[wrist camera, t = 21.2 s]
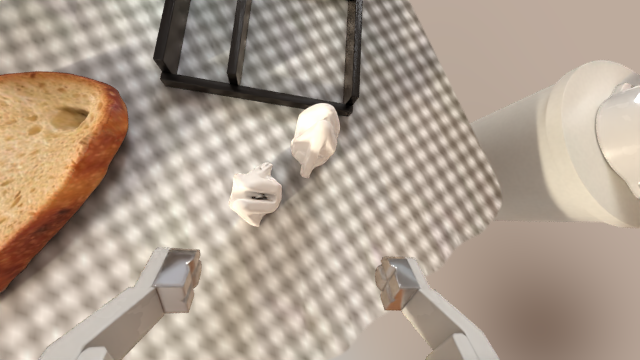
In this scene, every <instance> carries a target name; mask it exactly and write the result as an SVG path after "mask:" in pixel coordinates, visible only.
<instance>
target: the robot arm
mask: <svg viewBox="0 0 640 360" xmlns="http://www.w3.org/2000/svg"><path fill="white" fill-rule="evenodd" d="M596 133H597V138H598V142H599V145H600V148H601V151H602V153H603V155H604V157H605V159H606V160H607V162H608V164H609V165H610V166H611V168H612V169H613V170H614V171H615V172H616V173H617V174H618V175H619V176H620V177H621V178H622V179H623V180H624V181H625V183H626V184H627V186H628V188H629V189H630V191H631V193H632V194H633V196H634V197H635V198H637V199H640V85H639V86H636V87H635V86H633V85H631V84H629V83H623V84H619V85H616V86H615V88H614V90H613V92H612V95H611V96H610V97H609V98H608V99H607V100H605V101H604V102H603V103H602V104H601V106H600V107H599V110H598V112H597V117H596ZM199 258H200V250H197V249H180V248H161V247H157V248H156V249H155V250H154V251H153V253H152V255H151V256H150V258H149V260H148V262H147V264H146V265H145V267H144V269H143V271H142V273H141V274H140V276H139V278H138V280H137V282H136V283H135V285H134V287H128V288H127V289H126V290H124V291H123V292H121V293H120V294H119V295H117V296H116V297H115V298H113V299H112V300H111V301H109V302H108V303H106V304H105V305H104V306H102V307H101V308H100V309H98V310H97V311H96V312H94V313H93V314H91V315H90V316H89V317H87V318H86V319H85V320H83V321H82V322H81V323H79V324H78V325H76V326H75V327H74V328H72V329H71V330H70V331H68V332H67V333H66V334H64V335H63V336H61V337H60V338H59V339H57V340H56V341H55V342H53V343H52V344H51V345H49V346H48V347H47V348H46V349H45V351H44V352H43V353H42V355H41V356H40V358H39V359H38V360H122V359H123V358H124V356H125V355H126V354H127V353H128V352H129V351H130V350H131V349H132V348H133V347H134V346H135V345H136V344H137V343H138V342H139V341H140V340H141V339H142V338H143V337H144V336H145V335H146V334H147V332H148V331H149V330H150V329H151V328H152V327H153V326H154V325H155V324H156V323H157V322H158V321H159V320H160V319H161V318H162V317H163V316H164V314H165V313H189V310H190V307H191V304H192V301H193V298H194V290H193V289H194V288H195V287H196V286H197V285H198V283H199V279H200V275H201V268H202V264H201V261H200V260H199ZM381 263H382V264H381V265H380V266H378V267H377V269H376V271H375V282H376V285H377V287H378V288H379V289H380V290H381V294H380V298H381V301H382V304H383V307H384V310H402V313H403V314H404V315H405V317H406V318H407V319H408V320H409V322H410V323H411V324H412V325H413V326H414V328H415V329H416V330H417V331H418V332H419V334H420V335H421V336H422V337H423V339H424V340H425V341H426V342H427V343H428V345H429V346H430V347H431V348H432V350H433V351H432V352H431V353H430V354H429V355H428V356H427V357H426V359H425V360H500V359H499V358H498V356H497V354H496V353H495V351H494V349H493V348H492V346H491V345H490V343H489V341H488V339H487V338H486V336H485V334H484V333H483V331H481V330H480V329H479V328H478V327H477V326H476V325H474V324H473V323H472V322H471V321H470V320H469V319H468V318H467V317H465V316H464V315H463V314H462V313H461V312H460V311H458V310H457V309H456V308H455V307H454V306H453V305H451V303H449V302H448V301H447V300H446V299H445V298H444V297H443V296H441V295H440V294H439V293H438V292H437V291H436V290H434V289H431V287H430V285H429V283H428V281H427V280H426V277H425V276H424V274H423V272H422V270H421V268H420V266H419V264H418V262H417V260H416V259H415V258H412V257H383V258H382V260H381Z"/></svg>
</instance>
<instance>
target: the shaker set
mask: <svg viewBox="0 0 640 360" xmlns="http://www.w3.org/2000/svg"><path fill="white" fill-rule="evenodd" d="M339 131H340V123H339V118H338V115H337V112H336V110H335V108H334V107H333V106H332V105H330V104H326V103H319V104H315V105H313V106H311V107H309V108H307V109H305V110H304V111H303V112H302V113H300V115H299V117H298V122H297V127H296V132H295V137H294V138H293V140H292V142H291V152H292V155H293V156H294V157H295V158H296V159H297V160H298V161H299V163H300V164H301V170H300V174H301V176H302V177H305V178H309V177H310V174H311V172H312V170H313V169H314V168H315V167H317V166H320V165H322V164H324V163H325V162H326V161H327V160H328V159H329V158H330V157H331V156H332V155H333V153H334V152H335V150H336V146H337V137H338V135H339ZM265 163H266V164H265ZM265 163H263V164H261V165H260V166H258V167H256V168H255V169H253V170H252V171H250V172H249V173H247V174H240V173H238V174H235V176H234V179H233V188H232V193H231V196H230V200H229V207H230V208H231V209H233V210H234V211H235V212H237V213H238V215H239V216H240V217H241V218H243V219H244V220H245V221H246V222H247V223H249V224H250V225H252V226H258V227H259V225H260V221H261V219H262V218H263V216H264V215H265V214H267V213H272V212H274V211H275V210H276V209H277V208H278V206H279V204H280V202H281V199H282V196H281V195H282V186H281V185H280V184H279V183H278V182H277V181H276V180H275V179H274V178H272V177H271V170H272V167H273V166H272V164H271V163H268V162H265ZM267 164H269V165H267ZM265 165H267V166H265ZM257 192H258V193H257ZM259 193H265V195H261V194H259ZM251 196H254V197H256V198H259V197H260V198H262V197H263V196H265V197H268V198H265V199H270V200H271V201H270V200H256V198H254V199H252V198H251Z"/></svg>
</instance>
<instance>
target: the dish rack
mask: <svg viewBox="0 0 640 360" xmlns="http://www.w3.org/2000/svg"><path fill="white" fill-rule="evenodd" d="M347 1H348V18H347V38H346V57H345V77H344V96H343V104H341V103H336V102H330V101H324V100H319V99H313V98H307V97H302V96H296V95H290V94H285V93H279V92H273V91H268V90H262V89H256V88H251V87H245V86H240V83H241V75H242V68H243V61H244V53H245V46H246V39H247V31H248V24H249V16H250V9H251V2H252V0H238V1H237V8H236V15H235V21H234V28H233V35H232V42H231V48H230V55H229V62H228V69H227V74H228V78H229V82H230V84H228V83H222V82H217V81H211V80H205V79H200V78H194V77H188V76H183V75H177V68H178V63H179V58H180V53H181V47H182V42H183V37H184V31H185V26H186V21H187V16H188V10H189V5H190V0H165V4H164V9H163V14H162V19H161V23H160V28H159V33H158V37H157V42H156V47H155V52H154V56H153V59H154V61H155V62H156V64H157V65H158V67H159V68H160V69H161V71H162V73H161V78H160V80H161V81H162V82H163V84H164V85H165V86H168V87H174V88H180V89H186V90H192V91H199V92H205V93H211V94H217V95H223V96H229V97H235V98H241V99H247V100H253V101H259V102H265V103H271V104H277V105H283V106H289V107H295V108H301V109H307V108H309V107H311V106H313V105H315V104H319V103H326V104H330V105H332V106H333V107H334V108H335V110H336V112H337V115H343V116H350V114H351V113H352V112H353V106H352V105H353V104H354V103H355V102H356V100H357V99H358V98H359V85H360V59H361V33H362V7H363V0H347Z"/></svg>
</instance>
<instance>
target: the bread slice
mask: <svg viewBox="0 0 640 360" xmlns="http://www.w3.org/2000/svg"><path fill="white" fill-rule="evenodd" d="M127 130H128V113H127V108H126V105H125V103H124V102H123V100H122V98H121V97H120V95H119V92H118V91H117V90H116V89H115V88H114V87H112V86H110V85H108V84H106V83H103V82H99V81H96V80H93V79H89V78H86V77H82V76H78V75H74V74H68V73H58V72H42V71H36V72H24V73H13V74H4V75H0V293H1V292H3V291H4V290H5V289H6V288H7V287H8V285H9V283H10V282H11V281H12V280H13V279H14V278H15V277H16V276H17V275H19V274H20V273H21V272H22V271H23V270H24V269H25V268H26V267H27V265H28V263H29V262H30V260H31V259H32V258H33V257H34V256H35V255H37V254H38V253H39V252H40V251H41V250H42V249H43V247H44V246H45V245H46V243H47V242H48V241H49V240H50V239H51V238H52V237H53V236H54V235H55V234H56V233H57V232H58V231H59V230H60V229H61V228H62V227H63V226H64V225H65V224H66V223H67V222H68V220H69V219H70V218H71V217H72V216H73V215H74V214H75V213H76V212H77V211H78V209H79V208H80V207H81V206H82V205H83V203H84V202H85V201H86V199H87V198H88V197H89V196H90V194H91V193H92V192H93V191H94V190H95V188H96V187H97V186H98V185H99V184H100V182H101V181H102V179H103V178H104V176H105V175H106V173H107V169H108V166H109V164H110V162H111V161H112V159H113V158H114V156H115V154H116V153H117V151H118V149H119V147H120V146H121V144H122V142H123V140H124V138H125V136H126V133H127Z"/></svg>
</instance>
